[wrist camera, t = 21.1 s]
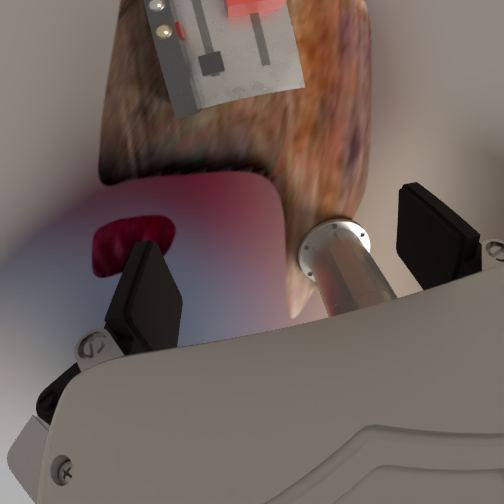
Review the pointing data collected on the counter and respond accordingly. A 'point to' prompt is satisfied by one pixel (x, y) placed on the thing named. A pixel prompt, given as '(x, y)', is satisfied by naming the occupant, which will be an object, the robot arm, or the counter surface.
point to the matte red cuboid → (251, 6)
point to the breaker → (211, 63)
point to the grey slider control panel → (222, 52)
